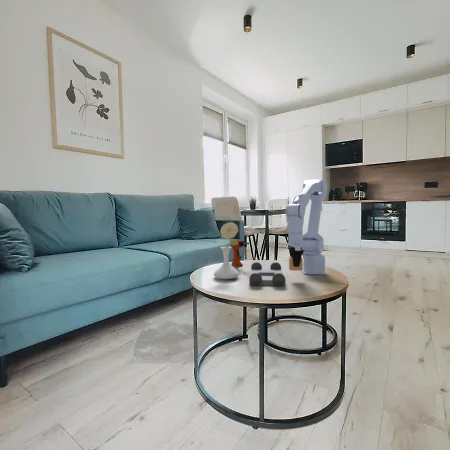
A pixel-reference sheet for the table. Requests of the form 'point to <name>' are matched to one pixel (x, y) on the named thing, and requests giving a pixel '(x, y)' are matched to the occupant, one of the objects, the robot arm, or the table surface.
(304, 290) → the table surface
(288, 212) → the robot arm
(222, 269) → the flower in vase
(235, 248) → the toy drill
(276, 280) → the chassis
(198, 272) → the table surface
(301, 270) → the block
